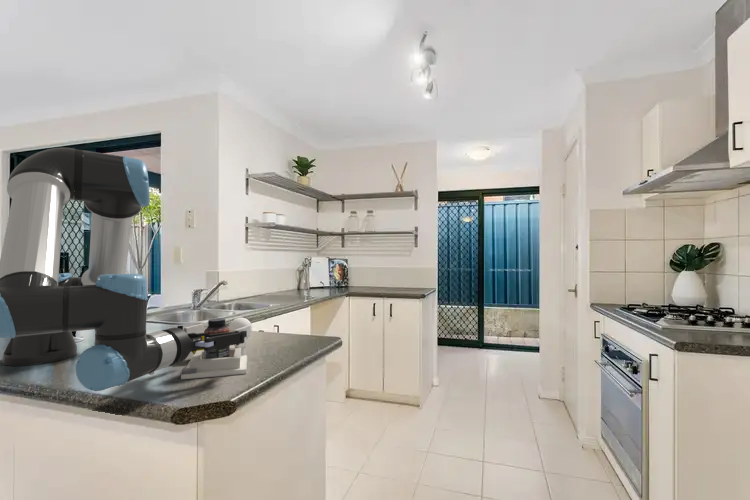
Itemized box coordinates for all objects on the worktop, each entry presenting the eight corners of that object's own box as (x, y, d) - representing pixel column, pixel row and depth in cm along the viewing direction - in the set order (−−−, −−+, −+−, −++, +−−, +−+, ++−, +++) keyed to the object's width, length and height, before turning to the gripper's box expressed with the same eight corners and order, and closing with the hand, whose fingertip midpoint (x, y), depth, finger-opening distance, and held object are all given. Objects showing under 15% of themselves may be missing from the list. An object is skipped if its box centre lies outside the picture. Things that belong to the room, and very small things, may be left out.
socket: (191, 363, 96) (191, 349, 96) (247, 358, 100) (247, 346, 100) (181, 379, 82) (181, 364, 82) (246, 373, 87) (246, 358, 87)
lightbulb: (243, 360, 99) (244, 319, 99) (222, 358, 100) (223, 319, 100) (255, 354, 105) (256, 316, 105) (236, 353, 106) (236, 315, 106)
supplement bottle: (216, 359, 95) (216, 316, 95) (234, 361, 93) (235, 317, 93) (198, 366, 89) (198, 320, 90) (218, 368, 87) (218, 321, 88)
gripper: (111, 363, 76) (183, 342, 97) (217, 371, 71) (269, 346, 92) (112, 328, 77) (184, 314, 97) (217, 333, 72) (269, 317, 92)
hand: (225, 329), depth 95 cm, fingers open, 13 cm apart
